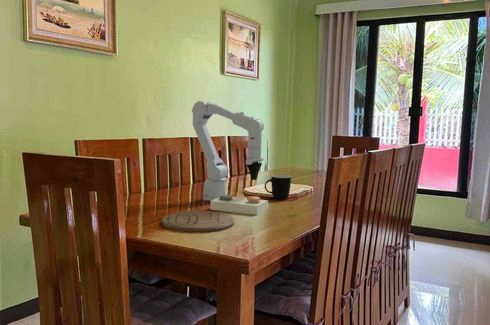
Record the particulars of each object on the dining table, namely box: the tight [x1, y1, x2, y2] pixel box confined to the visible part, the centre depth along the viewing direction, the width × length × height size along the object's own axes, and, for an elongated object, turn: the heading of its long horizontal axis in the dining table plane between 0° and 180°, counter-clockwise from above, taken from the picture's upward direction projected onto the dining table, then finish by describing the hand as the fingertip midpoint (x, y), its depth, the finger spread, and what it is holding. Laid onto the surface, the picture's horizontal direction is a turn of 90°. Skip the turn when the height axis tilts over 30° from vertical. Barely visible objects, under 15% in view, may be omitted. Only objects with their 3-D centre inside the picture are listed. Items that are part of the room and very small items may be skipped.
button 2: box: [246, 195, 261, 204], centre depth 176 cm, size 5×5×4 cm
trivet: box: [161, 210, 235, 234], centre depth 155 cm, size 25×25×2 cm
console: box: [209, 196, 269, 216], centre depth 178 cm, size 20×12×4 cm, turn 68°
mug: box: [264, 174, 292, 200], centre depth 204 cm, size 12×9×10 cm
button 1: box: [220, 194, 233, 201], centre depth 180 cm, size 5×5×4 cm
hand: (253, 179), depth 189 cm, fingers closed
